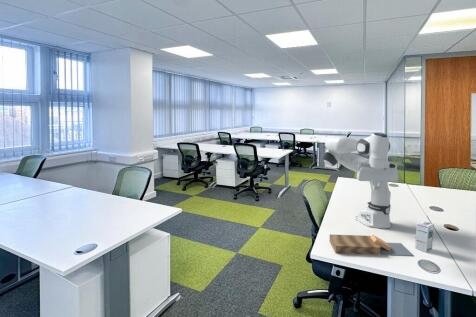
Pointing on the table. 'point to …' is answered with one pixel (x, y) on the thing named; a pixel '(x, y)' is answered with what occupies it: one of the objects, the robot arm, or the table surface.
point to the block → (380, 242)
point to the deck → (354, 244)
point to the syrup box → (424, 236)
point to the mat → (395, 250)
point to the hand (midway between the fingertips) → (376, 189)
